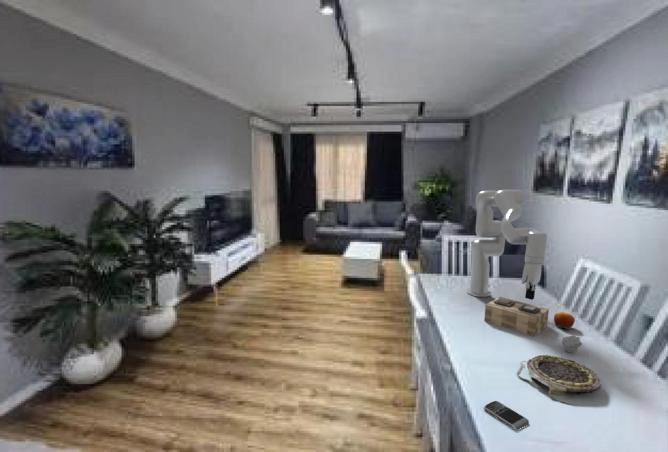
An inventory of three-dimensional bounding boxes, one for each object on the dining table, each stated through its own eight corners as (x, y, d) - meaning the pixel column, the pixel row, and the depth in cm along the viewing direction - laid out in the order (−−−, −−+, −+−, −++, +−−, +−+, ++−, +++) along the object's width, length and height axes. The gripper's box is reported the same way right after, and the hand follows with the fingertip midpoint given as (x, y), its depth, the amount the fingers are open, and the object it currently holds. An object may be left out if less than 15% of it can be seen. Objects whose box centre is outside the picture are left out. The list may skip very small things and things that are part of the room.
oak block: (498, 312, 184) (499, 295, 182) (546, 325, 168) (548, 307, 167) (484, 320, 173) (485, 302, 172) (534, 336, 157) (536, 316, 156)
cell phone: (494, 403, 112) (495, 399, 112) (530, 425, 102) (530, 420, 102) (481, 410, 109) (482, 405, 108) (516, 433, 99) (517, 428, 99)
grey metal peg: (524, 323, 169) (526, 305, 168) (534, 326, 166) (536, 307, 165) (521, 326, 166) (523, 307, 165) (530, 328, 164) (532, 310, 162)
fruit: (554, 326, 164) (555, 309, 166) (552, 329, 170) (553, 312, 173) (575, 330, 160) (576, 312, 162) (573, 333, 166) (573, 316, 169)
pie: (526, 353, 143) (528, 341, 142) (614, 380, 126) (616, 366, 125) (508, 385, 121) (509, 371, 121) (610, 422, 105) (613, 406, 104)
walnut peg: (500, 316, 177) (502, 299, 176) (509, 319, 174) (510, 301, 173) (497, 318, 174) (498, 301, 173) (505, 321, 172) (507, 303, 170)
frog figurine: (572, 357, 140) (574, 340, 138) (556, 348, 146) (558, 332, 145) (584, 355, 141) (586, 338, 140) (568, 347, 148) (570, 330, 147)
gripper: (531, 254, 170) (526, 292, 173) (518, 260, 159) (514, 300, 163) (549, 258, 164) (544, 296, 168) (537, 264, 154) (532, 305, 157)
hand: (529, 298), depth 165 cm, fingers closed
